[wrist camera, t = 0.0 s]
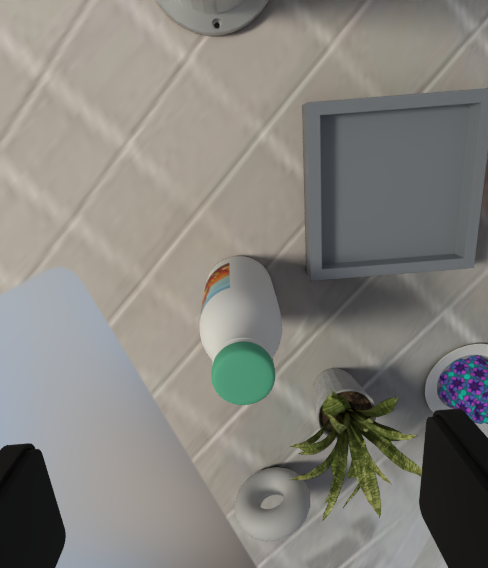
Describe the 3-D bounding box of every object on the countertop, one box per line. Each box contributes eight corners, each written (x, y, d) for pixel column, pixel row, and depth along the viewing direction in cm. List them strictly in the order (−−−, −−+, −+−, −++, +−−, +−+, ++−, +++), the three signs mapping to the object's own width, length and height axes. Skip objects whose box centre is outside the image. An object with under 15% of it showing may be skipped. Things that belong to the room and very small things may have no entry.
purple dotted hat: (444, 332, 50) (467, 352, 45) (529, 351, 52) (560, 373, 47) (408, 410, 54) (426, 437, 49) (488, 426, 55) (513, 454, 50)
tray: (302, 105, 41) (307, 102, 38) (477, 91, 41) (495, 87, 38) (306, 272, 47) (311, 281, 44) (459, 260, 47) (473, 267, 44)
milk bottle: (251, 242, 45) (265, 311, 27) (282, 297, 48) (316, 396, 29) (193, 274, 46) (167, 362, 28) (227, 326, 49) (223, 441, 30)
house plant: (248, 376, 51) (255, 475, 36) (335, 310, 48) (383, 387, 33) (314, 444, 55) (347, 560, 40) (399, 386, 52) (469, 487, 37)
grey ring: (300, 453, 55) (314, 516, 46) (305, 472, 57) (320, 537, 47) (231, 470, 56) (231, 536, 47) (238, 489, 57) (239, 557, 48)
